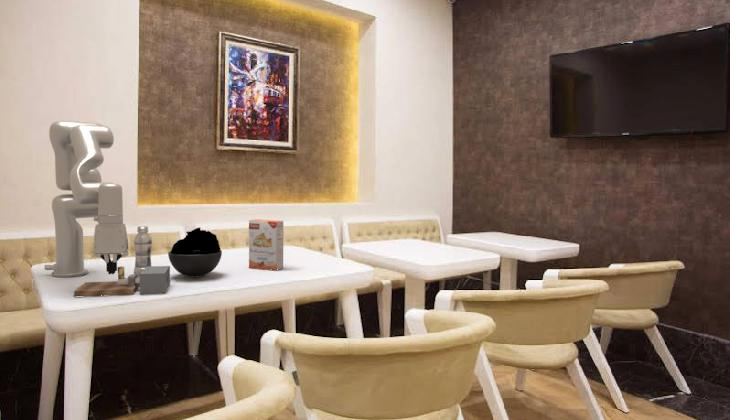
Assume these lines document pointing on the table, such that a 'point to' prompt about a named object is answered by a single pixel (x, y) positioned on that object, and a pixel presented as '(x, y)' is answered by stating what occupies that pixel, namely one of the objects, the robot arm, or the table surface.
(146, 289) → the block
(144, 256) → the plastic bottle
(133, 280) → the brown wooden flat slab
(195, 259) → the bowl of black rocks
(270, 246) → the cracker box
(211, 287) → the table surface
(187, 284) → the table surface
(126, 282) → the bolt
